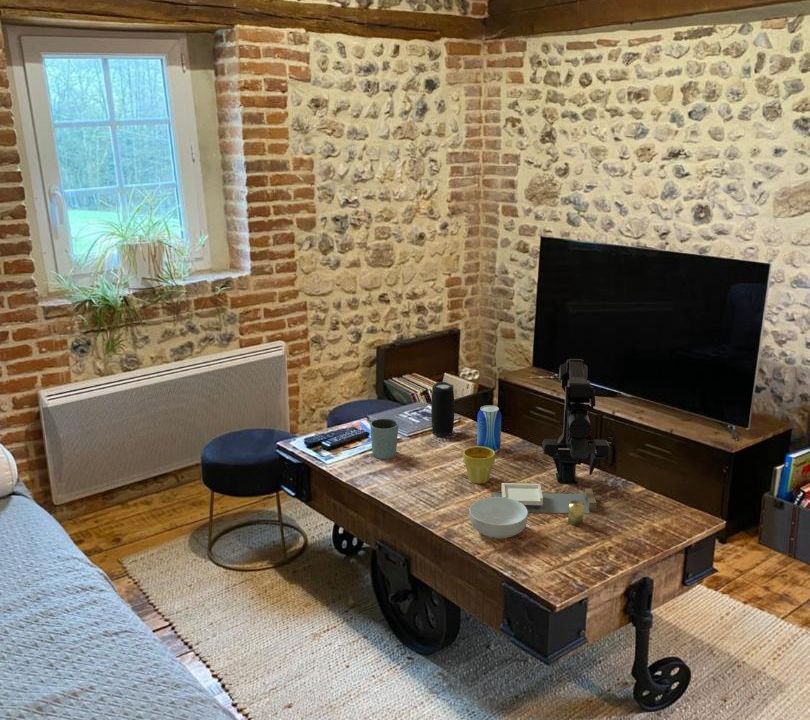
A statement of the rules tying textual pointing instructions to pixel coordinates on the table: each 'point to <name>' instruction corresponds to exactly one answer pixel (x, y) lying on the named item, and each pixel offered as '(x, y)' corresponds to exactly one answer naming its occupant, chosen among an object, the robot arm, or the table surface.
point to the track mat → (554, 503)
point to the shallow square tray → (523, 493)
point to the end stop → (590, 500)
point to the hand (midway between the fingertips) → (574, 474)
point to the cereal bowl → (498, 517)
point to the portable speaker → (442, 409)
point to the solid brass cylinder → (575, 513)
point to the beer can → (489, 428)
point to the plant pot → (478, 463)
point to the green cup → (384, 437)
